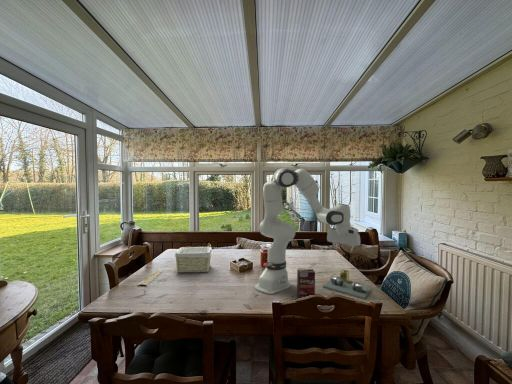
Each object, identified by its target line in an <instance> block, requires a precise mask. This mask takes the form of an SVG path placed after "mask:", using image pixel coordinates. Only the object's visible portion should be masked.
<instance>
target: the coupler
mask: <svg viewBox="0 0 512 384" xmlns="http://www.w3.org/2000/svg"><path fill="white" fill-rule="evenodd" d="M339 272H340V273H339V275H340V276H339V278H341V279H343V281H344V282H345V283H348V284H349V282H350V270H348V269H342V270H341V271H339Z"/></svg>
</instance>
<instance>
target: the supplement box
mask: <svg viewBox="0 0 512 384" xmlns="http://www.w3.org/2000/svg"><path fill="white" fill-rule="evenodd" d="M296 271H297V275H296V277H297V278H296V299H297V298H302V297H306V296H309V295H316V293H315V291H316V290H315V289H316V271H315V270H314V269H313V268H310V269H309V268H308V269H307V268H306V269H305V268H304V269H303V268H301V269H297V270H296Z"/></svg>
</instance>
